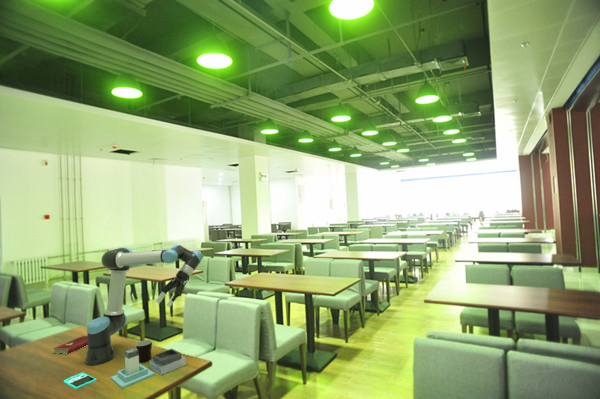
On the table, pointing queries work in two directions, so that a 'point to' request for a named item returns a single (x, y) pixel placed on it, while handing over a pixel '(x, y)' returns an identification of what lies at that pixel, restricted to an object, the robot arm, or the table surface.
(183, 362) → the upper socket stand
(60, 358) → the table surface
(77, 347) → the hardcover book
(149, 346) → the coffee mug
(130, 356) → the plug block
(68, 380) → the handheld game console
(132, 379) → the lower socket plate
